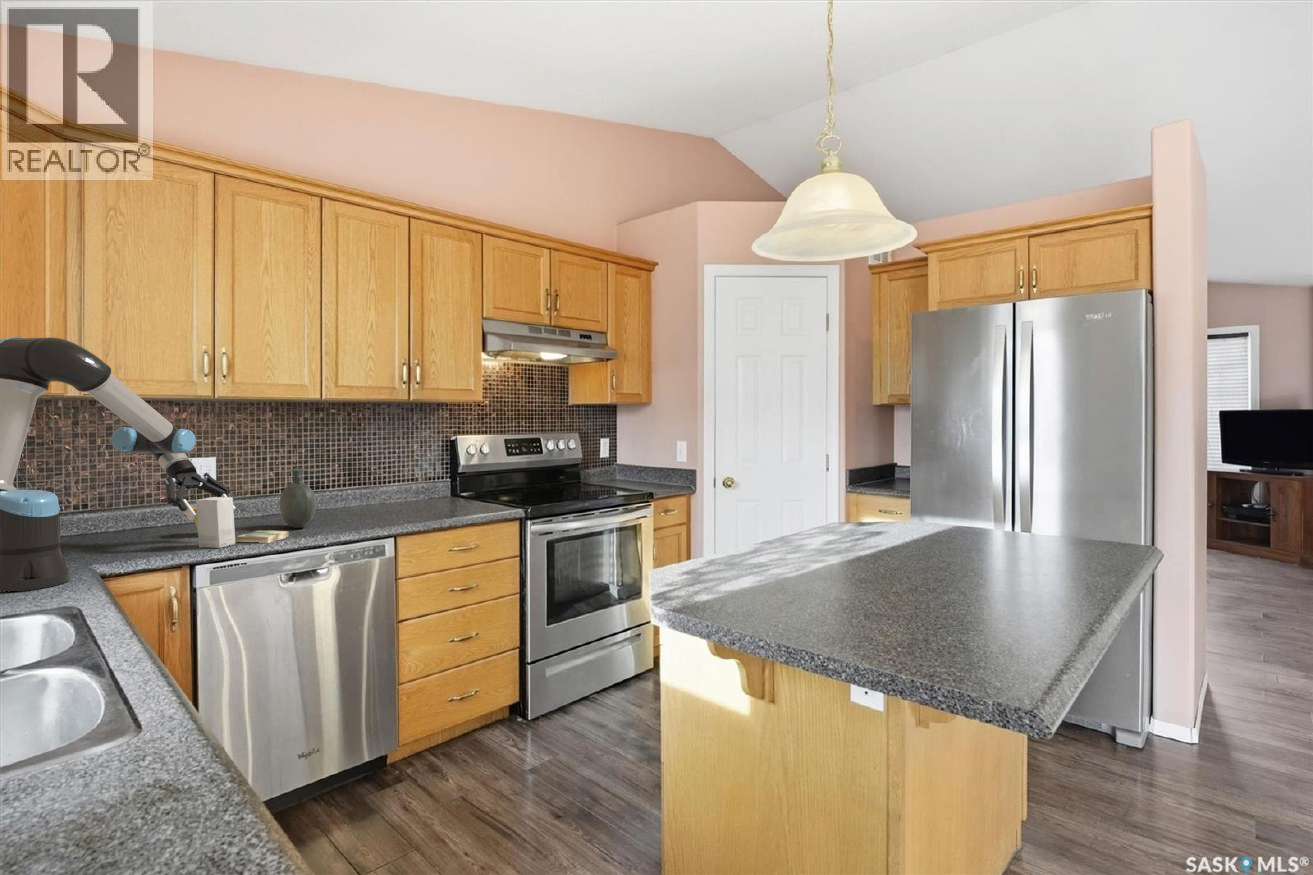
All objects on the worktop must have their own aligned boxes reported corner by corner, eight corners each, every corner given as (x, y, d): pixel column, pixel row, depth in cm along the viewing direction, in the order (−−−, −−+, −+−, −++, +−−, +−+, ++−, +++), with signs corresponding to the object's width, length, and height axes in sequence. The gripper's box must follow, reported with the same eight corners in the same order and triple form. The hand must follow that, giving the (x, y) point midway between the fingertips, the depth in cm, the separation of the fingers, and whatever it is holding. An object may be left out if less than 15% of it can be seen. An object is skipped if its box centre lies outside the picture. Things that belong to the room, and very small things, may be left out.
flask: (282, 532, 234) (281, 471, 233) (278, 525, 248) (277, 467, 247) (318, 529, 240) (317, 469, 239) (313, 522, 254) (312, 466, 254)
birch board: (267, 543, 215) (267, 536, 215) (235, 542, 216) (235, 536, 216) (288, 536, 226) (288, 530, 226) (258, 536, 227) (258, 530, 227)
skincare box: (235, 544, 213) (234, 497, 212) (218, 548, 206) (216, 499, 206) (214, 543, 215) (213, 496, 214) (196, 547, 208) (195, 498, 208)
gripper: (207, 470, 228) (242, 515, 225) (132, 477, 204) (169, 528, 201) (219, 456, 227) (253, 501, 223) (144, 461, 203) (181, 512, 199)
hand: (213, 514), depth 212 cm, fingers open, 13 cm apart
